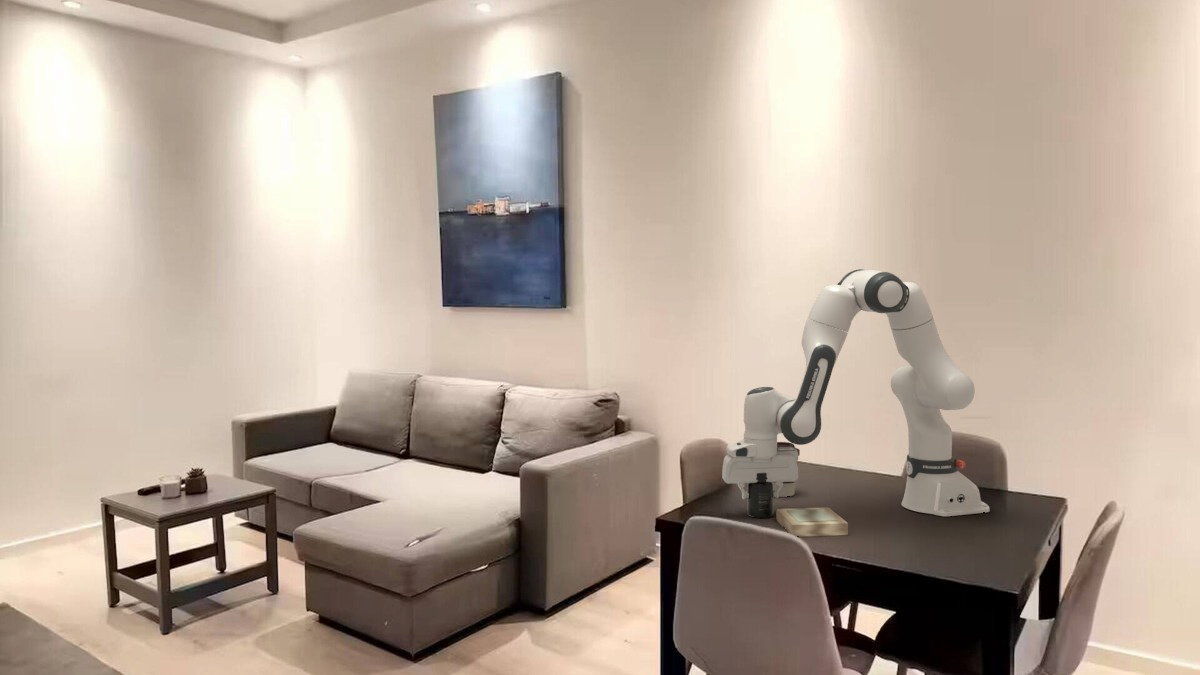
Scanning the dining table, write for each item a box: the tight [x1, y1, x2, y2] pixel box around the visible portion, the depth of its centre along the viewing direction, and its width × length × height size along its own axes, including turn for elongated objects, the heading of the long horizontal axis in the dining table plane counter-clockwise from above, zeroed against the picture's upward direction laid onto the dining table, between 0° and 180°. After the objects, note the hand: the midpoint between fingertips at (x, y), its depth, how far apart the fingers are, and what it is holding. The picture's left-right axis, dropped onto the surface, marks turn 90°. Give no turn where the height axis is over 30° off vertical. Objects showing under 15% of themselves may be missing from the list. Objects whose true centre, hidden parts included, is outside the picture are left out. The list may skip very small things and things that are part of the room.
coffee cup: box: [772, 441, 800, 498], centre depth 243 cm, size 10×10×15 cm
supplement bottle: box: [746, 473, 774, 519], centre depth 222 cm, size 7×7×12 cm
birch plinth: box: [775, 506, 849, 538], centre depth 211 cm, size 14×14×3 cm
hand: (760, 498), depth 222 cm, fingers closed on supplement bottle, 7 cm apart
